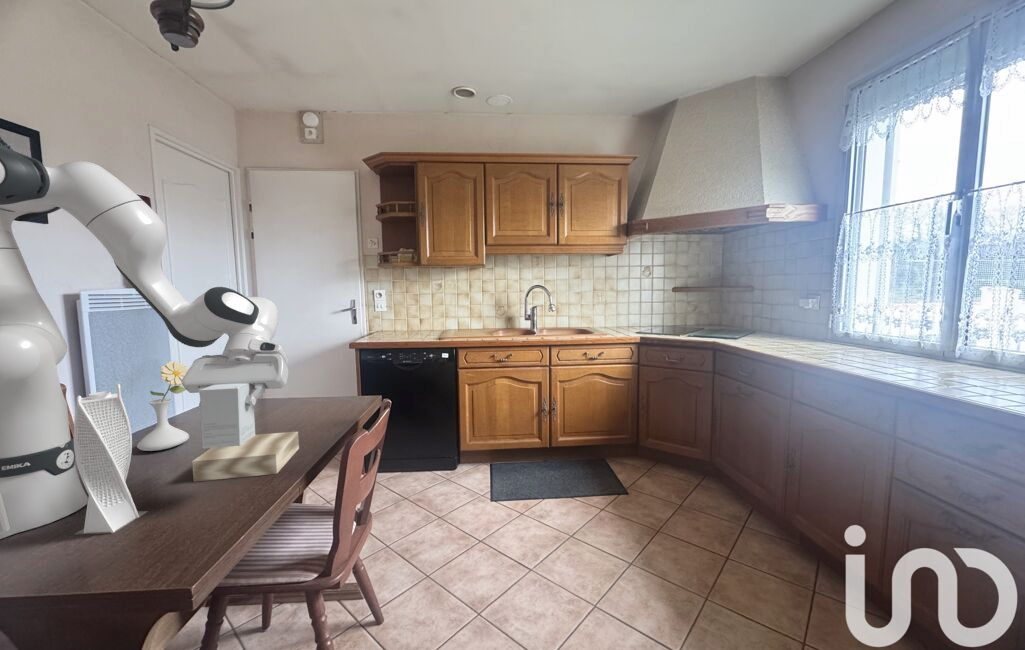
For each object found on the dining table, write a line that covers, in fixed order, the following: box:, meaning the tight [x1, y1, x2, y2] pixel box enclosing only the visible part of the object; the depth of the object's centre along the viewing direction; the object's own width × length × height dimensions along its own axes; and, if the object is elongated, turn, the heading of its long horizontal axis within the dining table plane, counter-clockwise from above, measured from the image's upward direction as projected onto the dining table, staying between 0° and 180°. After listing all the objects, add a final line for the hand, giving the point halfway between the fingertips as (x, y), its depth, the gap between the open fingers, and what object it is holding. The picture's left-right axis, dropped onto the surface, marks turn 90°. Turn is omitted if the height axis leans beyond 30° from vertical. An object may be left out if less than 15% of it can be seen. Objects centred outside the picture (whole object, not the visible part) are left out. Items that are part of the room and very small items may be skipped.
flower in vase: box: [136, 361, 190, 452], centre depth 112 cm, size 13×11×25 cm
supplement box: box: [198, 383, 256, 449], centre depth 83 cm, size 7×7×13 cm
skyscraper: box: [73, 383, 148, 535], centre depth 73 cm, size 8×8×28 cm
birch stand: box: [191, 431, 300, 482], centre depth 100 cm, size 18×16×5 cm
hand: (227, 405), depth 83 cm, fingers closed on supplement box, 7 cm apart
